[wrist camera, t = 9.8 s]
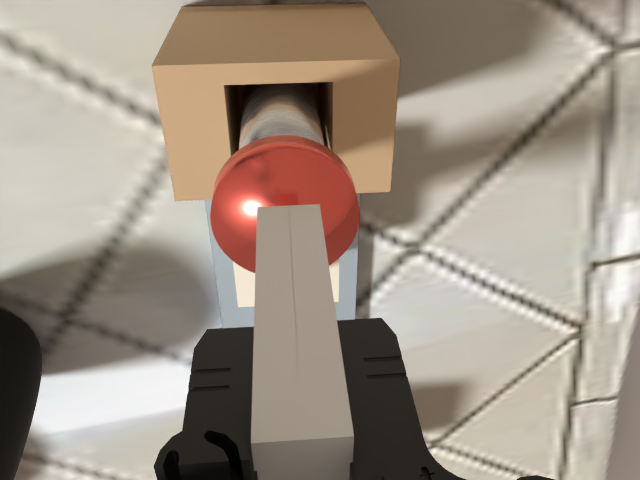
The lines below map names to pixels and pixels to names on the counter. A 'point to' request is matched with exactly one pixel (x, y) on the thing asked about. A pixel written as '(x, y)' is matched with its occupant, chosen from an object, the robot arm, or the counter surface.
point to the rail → (272, 68)
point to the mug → (16, 389)
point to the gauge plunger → (281, 173)
